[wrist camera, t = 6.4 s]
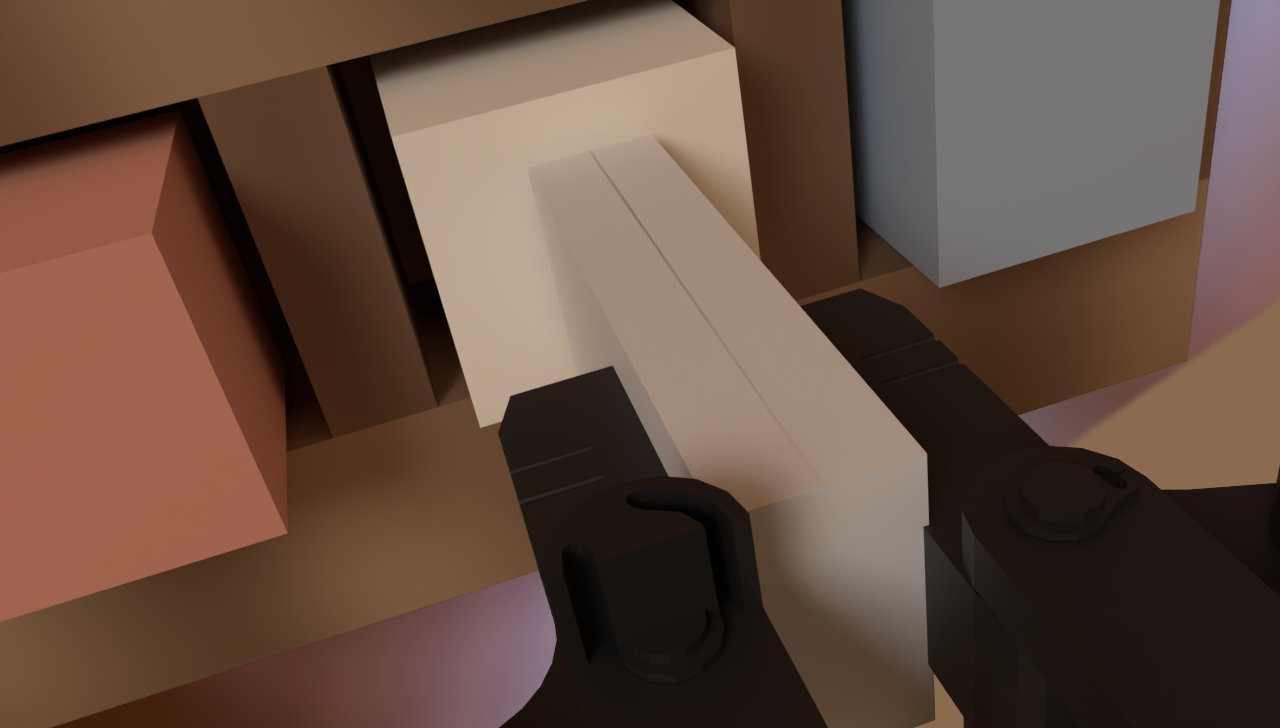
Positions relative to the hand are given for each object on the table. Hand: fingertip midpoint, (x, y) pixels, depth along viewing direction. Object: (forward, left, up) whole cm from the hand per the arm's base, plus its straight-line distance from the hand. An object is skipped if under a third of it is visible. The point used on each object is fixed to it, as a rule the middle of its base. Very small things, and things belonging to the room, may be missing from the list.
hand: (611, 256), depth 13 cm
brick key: (-7, 0, -3) cm, 7 cm away
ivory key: (0, 0, -4) cm, 4 cm away
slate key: (+6, 0, -4) cm, 8 cm away
